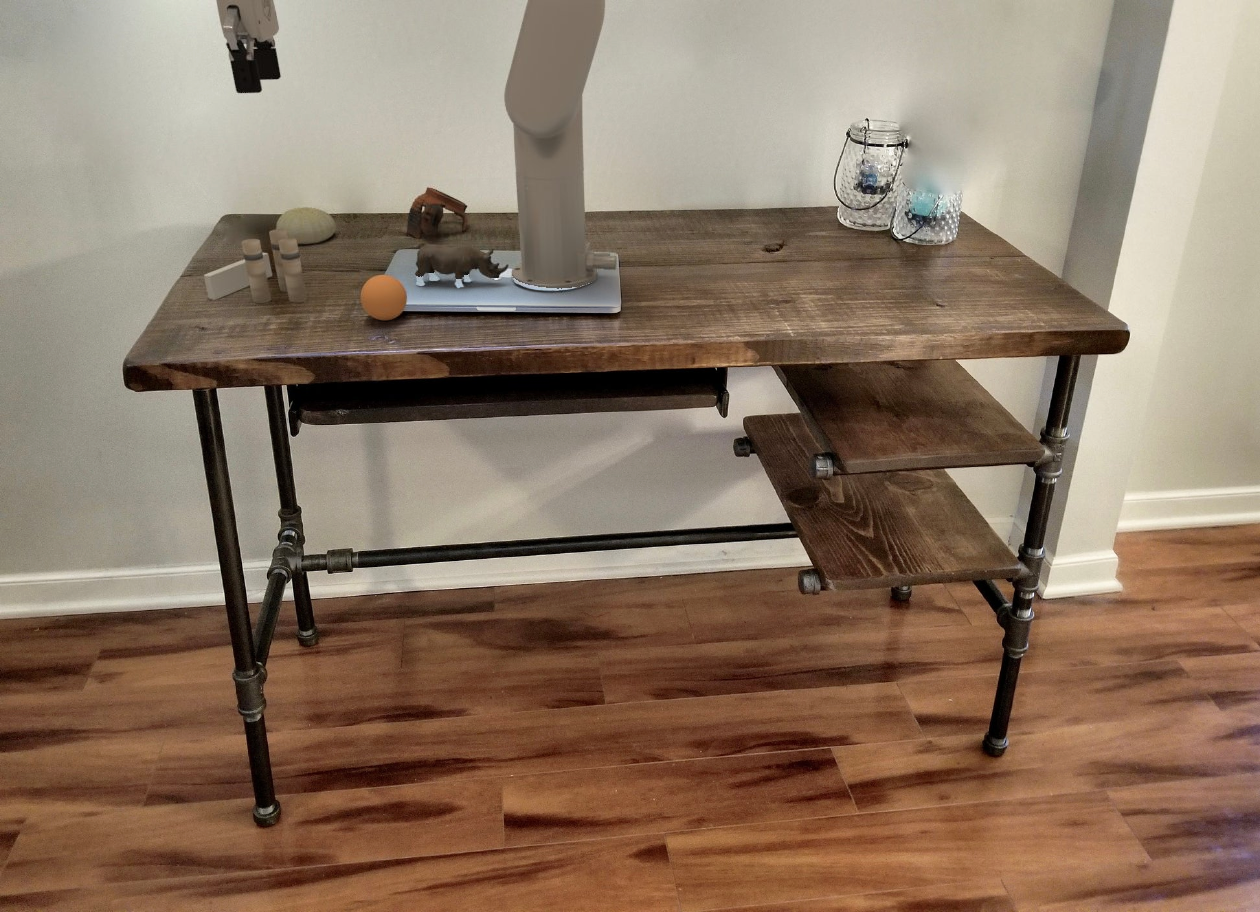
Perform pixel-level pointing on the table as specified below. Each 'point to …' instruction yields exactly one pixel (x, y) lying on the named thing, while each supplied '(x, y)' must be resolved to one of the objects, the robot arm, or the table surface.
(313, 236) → the sea urchin shell
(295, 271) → the front pin
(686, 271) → the table surface
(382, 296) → the ball
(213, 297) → the rail
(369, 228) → the table surface
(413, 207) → the rust brown arched piece
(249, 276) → the left pin
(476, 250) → the rhino figurine
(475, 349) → the table surface
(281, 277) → the right pin
